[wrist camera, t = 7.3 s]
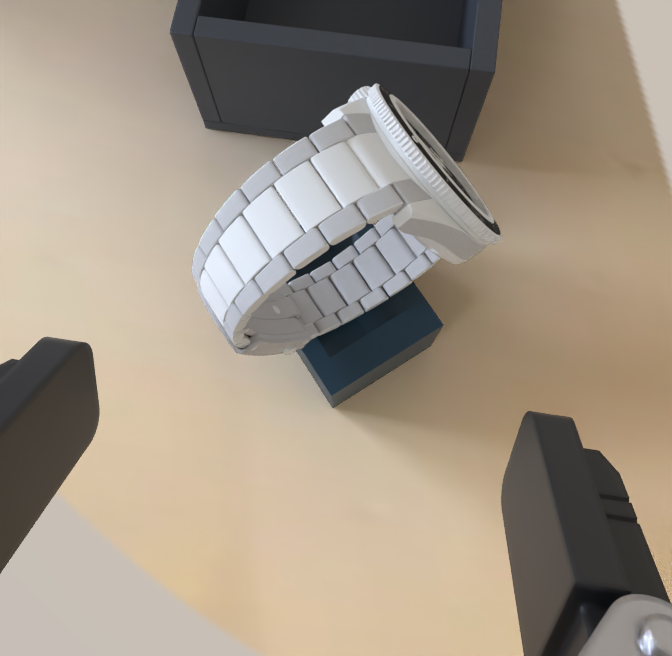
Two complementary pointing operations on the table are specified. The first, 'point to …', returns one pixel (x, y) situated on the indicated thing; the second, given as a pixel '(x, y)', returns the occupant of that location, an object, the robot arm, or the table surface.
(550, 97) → the table surface
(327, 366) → the watch
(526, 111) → the table surface
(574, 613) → the robot arm
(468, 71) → the box
